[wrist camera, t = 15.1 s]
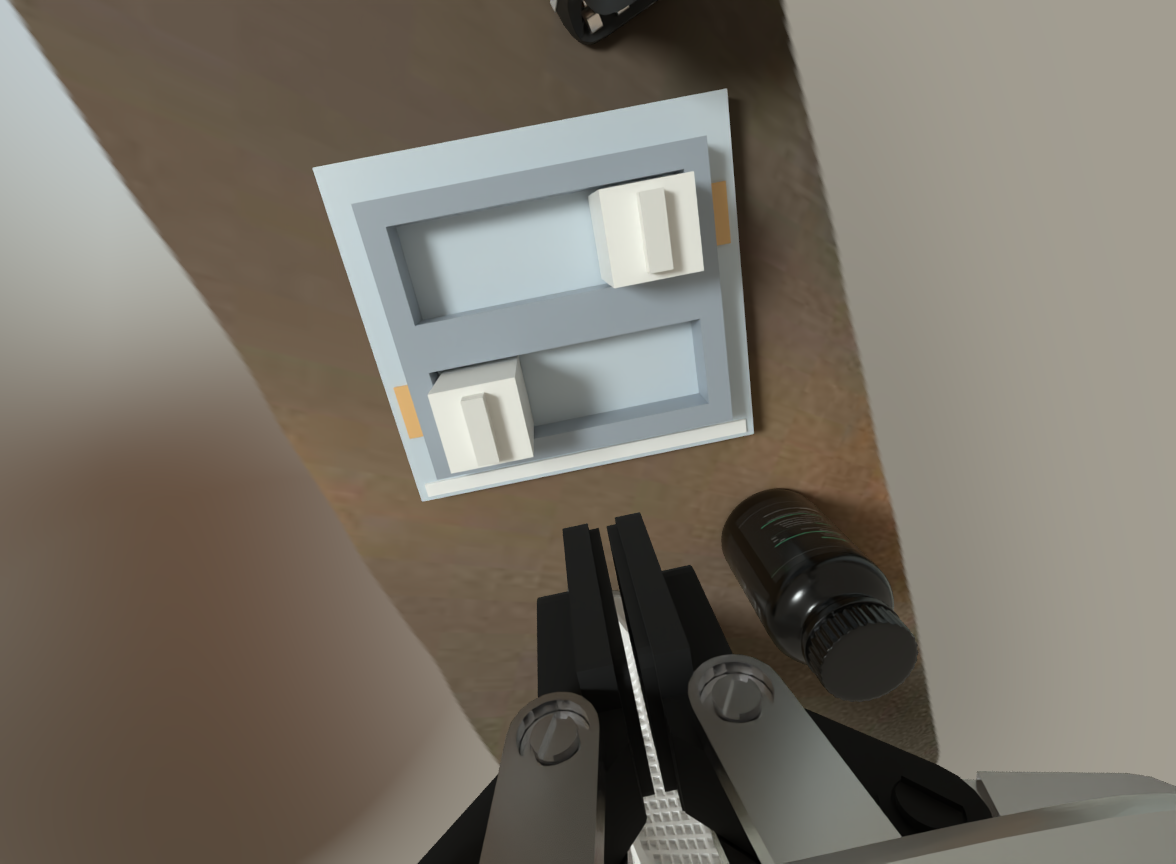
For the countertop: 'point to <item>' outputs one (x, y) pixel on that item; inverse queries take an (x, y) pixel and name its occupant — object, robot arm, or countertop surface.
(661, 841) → the skyscraper
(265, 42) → the countertop surface
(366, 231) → the switch bank
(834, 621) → the supplement bottle
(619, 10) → the battery charger
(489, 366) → the tab
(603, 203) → the tab
